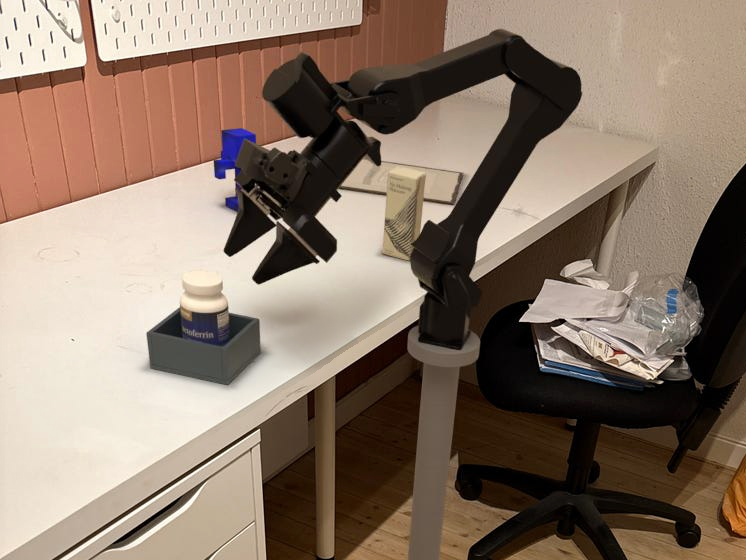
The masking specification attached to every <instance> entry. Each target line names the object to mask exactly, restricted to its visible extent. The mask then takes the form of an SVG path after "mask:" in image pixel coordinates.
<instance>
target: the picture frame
mask: <svg viewBox="0 0 746 560" xmlns="http://www.w3.org/2000/svg"><path fill="white" fill-rule="evenodd" d="M397 166H400V167H404V168H409V169H413V170H417V171H421V172H425V173H426V179H425V188H424V199H423V201H424V200H426V201H432V202H439V203H445V204H454V205H455V204H456V200H457V195H458V193H459V188H460V185H461V182H462V179H463V176H464V173H465V172H461V171H453V170H446V169H440V168H433V167H425V166H419V165H412V164H405V163H399V162H392V161H384V160H381V166H379V167H378V166H376V165H374V164H373V163H371V162H370V161H368V160H367V159H365V158H363V159H362V161H361V162H360V163H359V164H358V165H357V167H356V168H355V169H354V170H353V172H352V173H351V174H350V175H349V176H348V178H347V179H346V180H345V181H344V182H343V184H342V185H341V186H340V187H339V188H341V189H348V190H355V191H362V192H369V193H375V194H381V195H382V194H383V195H387V183H388V172H389V171H391V170H392V169H394V168H395V167H397Z"/></svg>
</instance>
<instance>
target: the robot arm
mask: <svg viewBox="0 0 746 560" xmlns="http://www.w3.org/2000/svg"><path fill="white" fill-rule="evenodd" d="M500 76H505V77H506V78H507V79H508V80H510V81H511V82H512V83H514V86H513V88H512V90H511V94H510V101H509V108H508V109H509V110H508V117H507V119H506V121H505V123H504V125H503V126H502V128H501V129H500V131H499V133H498V134H497V136H496V138H495V139H494V141H493V142H492V144H491V145H490V147H489V149H488V151H487V152H486V154H485V156H484V158H483V159H482V161H481V162H480V164H479V166H478V168H477V169H476V170H475V172H474V174H473V176H471V178H470V181H469V182H468V184H467V185H466V187H465V188H464V190H463V192H462V193H461V195H460V197H459V198H458V200H457V202H455V204H454V207H453V208H452V210H451V211H450V213H449V215H448V216H447V217H446V218H444V219H442V220H441V221H439V222H438V223H435V222H434V221H432V220H430V219H428V220H426V222H425V223H424V224H423V227H422V229H421V230H420V235H419V237H418V238H417V239H416V240H415V241H414V242H413V243H412V244H411V246H413V247H414V248H413V250H412V253H411V255H410V259H409V260H408V261H409V262H410V263H409V265H410V270H411V272H412V274H413V275H414V276H415V277H416V278H417V281H418V285H419V287H420V288H421V289H423V290H424V291H425V292H426V293H425V295H424V297H423V301H422V302H421V303H420V305H419V311H418V312H419V313H418V325H417V326H418V332H419V333H420V336H419V337H418V342H420V343H425V344H430V345H435V346H440V347H444V348H449V349H454V350H462V348H463V346H464V345H465V343H466V341H467V340H468V338H469V337H470V334H471V332H470V331H471V330H470V331H468V330H469V329H470V319H471V310H472V308H477V307H478V306H479V303H480V301H481V299H482V296H483V291H482V289H481V288H480V287H479V286H478V285H477V284H476V283H475V281H474V279H472V278H471V276H470V275H471V273H472V271H473V269H474V267H475V264H476V260H477V251H478V246H479V245H478V243H479V239H480V236H481V235H482V233H483V232H484V230H485V229H486V227H487V226H488V224H489V222H490V221H491V219H492V218H493V216H494V214H496V213H495V212H496V211H497V209H498V208H499V206H500V205H501V203H502V202H503V200H504V198H505V197H506V195H507V193H508V192H509V191H510V189H511V187H512V185H513V184H514V182H515V181H516V180H517V177H518V176H519V174H520V172H521V171H522V169H523V168H524V166H525V165H526V163H527V161H528V160H529V158H530V157H531V155H532V154H533V152H534V150H535V149H536V147H537V146H538V144H539V143H540V142H541V141H542V140H544V139H545V138H546V137H548V136H549V135H552V134H553V133H554V132H556V131H557V130H559V129H561V127H563V125H564V124H565V123H566V121H567V120H568V119H569V118H570V117H571V115H572V114H573V113H574V111H576V109H577V108H578V106H579V105H580V102H581V100H582V96H583V91H582V80H581V76H580V74H579V73H578V71H577V70H576V69H574V68H573V67H571V66H568V65H566V64H564V63H562V62H560V61H556V60H554V59H551V58H549V57H547V56H545V55H544V54H543V53H542V52H540V51H539V50H537V49H536V48H535V47H533V46H532V45H530V43H528V42H527V41H526V39H525V38H524V37H523V36H521V35H520V34H517V33H514V32H511V31H509V30H507V29H504V28H497V29H494V30H492V31H490V32H489V33H488V34H487V35H484V36H482V37H479V38H476V39H474V40H471V41H469V42H466V43H464V44H462V45H458V46H456V47H453V48H451V49H448V50H445V51H442V52H440V53H438V54H435V55H433V56H431V57H427V58H425V59H422V60H420V61H417V62H415V63H410V64H409V63H408V64H383V65H378V66H377V65H376V66H371V67H363V68H361V69H359V70H356V71H355V72H353V74H351V75H350V76H349V79H342V80H338V81H337V80H336V81H332V82H330V81H328V79H327V78H326V77H325V75H324V74H323V73H322V71H320V68H319V66H318V65H317V63H316V61H315V59H313V58H312V57H311V55H310V54H307V53H306V52H303V51H300V52H299V53H298V54H297V56H296V57H295V58H293V59H289V60H288V61H286V62H284V63H282V64H281V65H280V66H279V67H278V68H274V69H273V70H272V71H271V72H270V74H269V75H268V76H267V78H266V80H265V82H264V84H263V87H262V90H261V96H262V99H263V100H264V101H265V102H266V103H267V105H269V107H270V108H271V109H272V110H273V111H274V113H276V115H277V116H278V117H279V118H280V119H281V120H282V122H284V124H285V125H286V126H287V127H288V128H289V129H290V130H291V132H292V133H293V134H294V135H295V136H296V137H297V138H299V139H305V138H308V137H309V138H311V139H310V141H308V143H307V144H306V145H305V147H304V148H303V149H302V151H300V153H299V152H298V151H297V150H295V149H293V150H289V151H288V152H285V151H281V150H280V149H278V148H277V147H273V148H271V149H267V148H266V147H264V146H262V145H260V144H257V143H256V144H255V143H253V142H251V141H249V140H247V139H244V140H243V143H242V146H241V149H240V151H239V154H238V157H237V160H236V163H235V166H236V167H237V168H239V167H240V168H241V169H242V170H241V171H240V173H239V174H238V175H237V176H236V178H235V177H234V179H233V181H234V183H235V182H236V183H237V184H238V185H239V186H240V187H241V188H242V189H241V190H240V189H239V188H238V187H235V188H234V192H235V194H236V193H237V197H238V204H239V209H238V212H236V216H235V218H234V222H233V224H232V227H231V230H230V232H229V235H228V237H227V239H226V243H225V244H224V247H223V253H224V254H225V255H226V256H227V257H229V258H232V257H234V256H235V255H237V254H238V253H240V252H241V251H243V250H244V249H246V248H248V247H249V246H250V245H251V244H253V243H255V242H256V241H257V240H259V239H260V238H261V237H263V236H264V235H266V234H267V233H269V232H270V231H272V230H273V229H275V233H276V234H275V241H274V242H273V243H272V244H271V246H270V248H269V249H268V251H267V252H266V254H265V256H264V257H263V259H262V260H261V262H260V263H259V264H258V266H257V268H256V270H255V271H254V273H253V274H252V276H251V280H252V282H254V283H255V284H256V285H258V286H259V285H262V284H264V283H266V282H269V281H271V280H273V279H276V278H278V277H281V276H283V275H285V274H286V273H287V274H288V273H290V272H291V271H295V270H298V269H300V268H303V267H305V266H309V265H312V264H315V265H317V264H320V260H319V259H318V258H317V256H318V257H319V258H320V259H321V260H322V261H323V262H324V263H326V264H327V263H329V261H330V260H331V259H332V258H333V256H334V255H335V254H336V253H337V251H338V239H337V238H336V237H335V236H334V235H333V234H332V233H331V231H330V230H328V228H326V227H325V225H324V224H323V223H321V222H320V221H319V220H318V218H317V215H318V214H319V213H320V212H321V211H322V209H324V207H325V206H326V204H328V202H329V201H330V199H331V200H332V201H334V202H335V203H338V201H339V200H340V199H341V198H342V194H341V193H340V192H339V191H338V190H339V189H340V188H341V187H340V186H341V185H342V184H343V182H344V181H345V180H346V179H347V178H348V176H349V175H350V174H351V173H352V172H353V170H354V169H355V168H356V167H357V165H358V164H359V163H360V162H361V161H362V159H363V158H365V159H367V160H368V161H370V162H371V163H373V164H374V165H376V166H378V167H379V166H381V161H382V154H381V146H382V142H381V140H379V139H378V138H376V137H374V136H368V135H367V134H366V133H365V131H363V130H362V128H361V127H360V126H359V125H358V123H357V122H356V121H355V120H357V121H359V122H360V123H362V124H363V125H365V126H366V127H368V128H370V129H372V130H373V131H375V132H376V133H379V134H381V135H386V136H388V135H393V134H395V133H396V132H397V133H398V131H399V130H401V129H403V128H404V127H406V126H408V125H409V124H410V123H412V122H414V121H415V120H416V119H417V118H418V117H419V116H420V114H421V113H422V112H423V111H424V109H426V108H427V107H428V106H430V105H432V104H433V103H435V102H438V101H441V100H442V99H445V98H447V97H450V96H454V95H455V94H458V93H461V92H463V91H465V90H467V89H471V88H472V87H476V86H478V85H480V84H483V83H485V82H488V81H491V80H493V79H496V78H497V77H500ZM339 110H341V111H342V112H344V113H345V114H347V115H349V116H351V117H352V118H354V119H355V120H345V119H344V118H343V117H342V116H341V114H340V113H339V112H338V111H339ZM270 217H271V218H272V219H274V220H275V221H276V222H274V221H273V220H272V219H271V218H270ZM281 219H282V222H283V223H284V224H286V226H288V227H289V228H287V227H285V226H284V225H283V224H282V223H281V222H280V221H278V220H281Z"/></svg>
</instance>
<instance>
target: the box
mask: <svg viewBox="0 0 746 560" xmlns="http://www.w3.org/2000/svg"><path fill="white" fill-rule="evenodd" d="M425 179H426V173H425V172H421V171H417V170H413V169H409V168H404V167H400V166H397V167H395V168H394V169H392V170H391V171H389V172H388V183H387V194H386V198H385V214H384V225H383V226H384V227H383V239H382V254H383V255H385V256H390V257H394V258H398V259H401V260H404V261H410V260H409V259H410V255H411V253H412V250H413V248H414V247H413V246H411V244H412V243H413V242H414V241H415V240H416V239H417V238H418V237H419V235H420V233H421V231H422V229H421V228H422V218H423V210H424V209H423V208H424V188H425Z"/></svg>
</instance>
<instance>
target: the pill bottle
mask: <svg viewBox="0 0 746 560" xmlns="http://www.w3.org/2000/svg"><path fill="white" fill-rule="evenodd" d="M181 282H182V283H181V285H182V289H183V290H184V292H183V293H182V294H181V296H180V298H179V307H180V311H181V323H182V334H183V338H184V339H188V340H193V341H198V342H202V343H207V344H212V345H217V346H221V347H224V346H225V345H226V344H227V343H228V342H229V341H230V330H229V313H230V312H229V301H228V298H227V297H226V295H225V294H223V292H222V291H223V289H224V285H223V284H224V282H223V277H222V276H221V275H220V274H218V273H216V272H214V271H209V270H190V271H188V272H185V273H184V274H183V275H182V277H181Z"/></svg>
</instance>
